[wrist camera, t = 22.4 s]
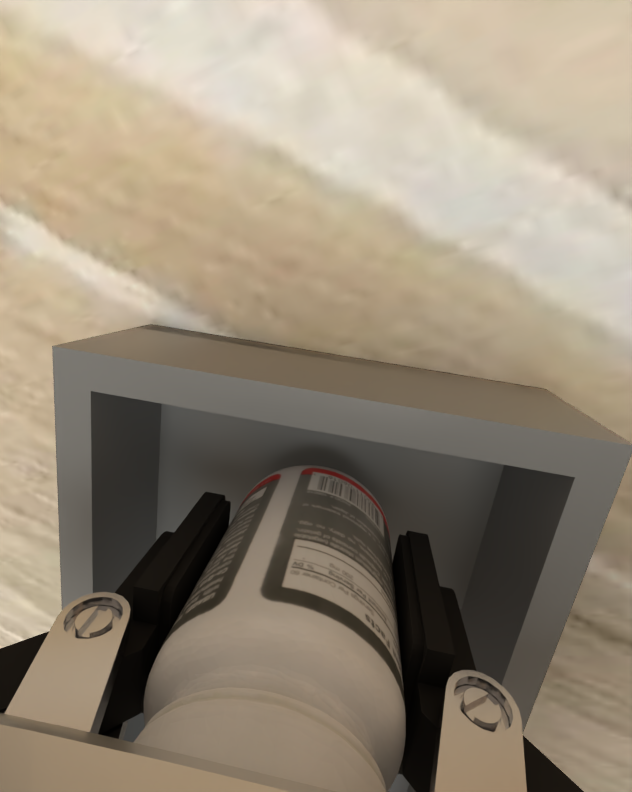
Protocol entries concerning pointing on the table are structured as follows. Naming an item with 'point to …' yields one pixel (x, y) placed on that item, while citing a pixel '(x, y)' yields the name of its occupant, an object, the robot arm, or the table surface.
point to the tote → (344, 451)
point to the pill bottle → (290, 642)
